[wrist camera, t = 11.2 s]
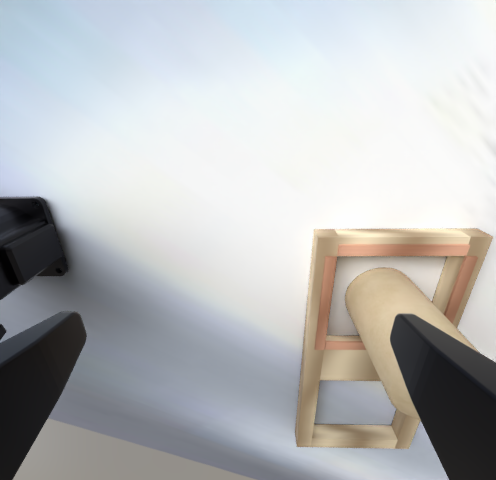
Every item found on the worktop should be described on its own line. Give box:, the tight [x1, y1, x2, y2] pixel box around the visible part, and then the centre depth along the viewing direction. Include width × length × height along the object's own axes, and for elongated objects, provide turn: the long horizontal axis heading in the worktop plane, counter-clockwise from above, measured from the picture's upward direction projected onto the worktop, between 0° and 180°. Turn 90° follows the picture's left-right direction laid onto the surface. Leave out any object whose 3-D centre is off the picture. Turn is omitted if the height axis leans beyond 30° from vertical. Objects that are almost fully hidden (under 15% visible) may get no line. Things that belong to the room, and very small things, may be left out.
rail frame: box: [295, 229, 493, 449], centre depth 25 cm, size 12×25×2 cm, turn 1°
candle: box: [345, 268, 478, 421], centre depth 18 cm, size 6×6×10 cm
